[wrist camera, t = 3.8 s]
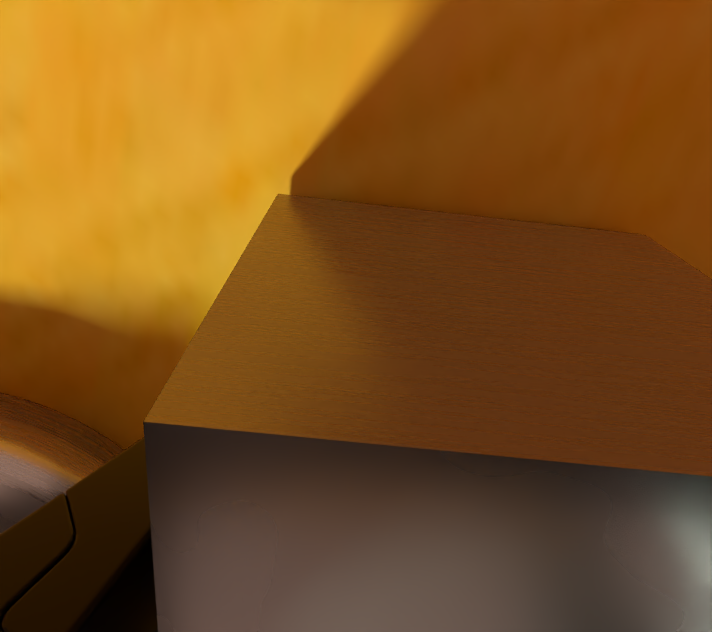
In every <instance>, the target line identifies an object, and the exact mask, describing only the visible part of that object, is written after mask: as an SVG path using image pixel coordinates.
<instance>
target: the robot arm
mask: <svg viewBox="0 0 712 632" xmlns="http://www.w3.org/2000/svg"><path fill="white" fill-rule="evenodd" d="M0 632H158V624H157V610H156V595H155V581H154V567H153V553H152V538H151V524H150V510H149V496H148V481H147V467H146V453H145V439H144V437H143V438H142V439H141V440H139V441H138V442H136V443H135V444H133V445H132V446H130V447H129V448H127V449H126V450H124V451H123V452H121V453H120V454H119V455H117V456H116V457H114V458H113V459H111V460H110V461H108V462H107V463H105V464H104V465H102V466H101V467H99V468H98V469H97V470H95V471H94V472H92V473H91V474H89V475H88V476H86V477H85V478H83V479H82V480H80V481H79V482H77V483H76V484H75V485H73V486H72V487H70V488H69V489H67V490H66V491H65V494H60V495H58V496H57V497H55V498H54V499H52V500H51V501H49V502H48V503H46V504H45V505H43V506H42V507H40V508H39V509H37V510H36V511H34V512H33V513H31V514H30V515H28V516H27V517H25V518H24V519H22V520H21V521H19V522H17V523H16V524H14V525H13V526H11V527H10V528H8V529H7V530H5V531H4V532H2V533H1V534H0Z"/></svg>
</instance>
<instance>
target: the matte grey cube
mask: <svg viewBox="0 0 712 632" xmlns="http://www.w3.org/2000/svg"><path fill="white" fill-rule="evenodd" d="M143 424H144V439H145V453H146V467H147V481H148V496H149V510H150V524H151V538H152V553H153V567H154V581H155V595H156V610H157V624H158V632H712V279H710V278H709V277H707V276H706V275H704V274H703V273H701V272H700V271H698V270H697V269H695V268H694V267H692V266H691V265H689V264H688V263H686V262H685V261H683V260H682V259H680V258H679V257H677V256H676V255H674V254H673V253H671V252H670V251H668V250H667V249H665V248H664V247H662V246H661V245H659V244H658V243H656V242H655V241H653V240H652V239H650V238H649V237H647V236H646V235H642V234H633V233H624V232H615V231H606V230H597V229H588V228H580V227H571V226H562V225H553V224H544V223H535V222H526V221H517V220H508V219H499V218H490V217H481V216H472V215H463V214H454V213H445V212H436V211H427V210H418V209H410V208H401V207H392V206H383V205H374V204H365V203H356V202H347V201H338V200H329V199H320V198H311V197H302V196H293V195H284V194H278V195H277V196H276V198H275V200H274V201H273V203H272V205H271V206H270V208H269V210H268V211H267V213H266V215H265V217H264V218H263V220H262V222H261V223H260V225H259V227H258V228H257V230H256V232H255V233H254V235H253V237H252V239H251V240H250V242H249V244H248V245H247V247H246V249H245V250H244V252H243V254H242V255H241V257H240V259H239V261H238V262H237V264H236V266H235V267H234V269H233V271H232V272H231V274H230V276H229V277H228V279H227V281H226V283H225V284H224V286H223V288H222V289H221V291H220V293H219V294H218V296H217V298H216V299H215V301H214V303H213V305H212V306H211V308H210V310H209V311H208V313H207V315H206V316H205V318H204V320H203V321H202V323H201V325H200V327H199V328H198V330H197V332H196V333H195V335H194V337H193V338H192V340H191V342H190V343H189V345H188V347H187V349H186V350H185V352H184V354H183V355H182V357H181V359H180V360H179V362H178V364H177V365H176V367H175V369H174V371H173V372H172V374H171V376H170V377H169V379H168V381H167V382H166V384H165V386H164V387H163V389H162V391H161V393H160V394H159V396H158V398H157V399H156V401H155V403H154V404H153V406H152V408H151V409H150V411H149V413H148V415H147V416H146V418H145V420H144V421H143Z"/></svg>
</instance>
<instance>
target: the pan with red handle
mask: <svg viewBox="0 0 712 632" xmlns="http://www.w3.org/2000/svg"><path fill="white" fill-rule="evenodd" d="M123 451H124V450H122V449H121V448H120V447H118V446H117V445H116V444H114V443H113V442H112V441H110V440H109V439H107V438H106V437H104V436H103V435H101V434H99V433H97V432H96V431H94V430H92V429H91V428H89V427H87V426H86V425H84V424H82V423H80V422H78V421H76V420H74V419H72V418H70V417H68V416H66V415H63V414H61V413H59V412H57V411H55V410H53V409H50V408H47V407H44V406H42V405H39V404H36V403H33V402H30V401H28V400H25V399H22V398H18V397H14V396H10V395H6V394H2V393H0V534H1V533H2V532H4V531H5V530H7V529H8V528H10V527H11V526H13V525H14V524H16V523H17V522H19V521H21V520H22V519H24V518H25V517H27V516H28V515H30V514H31V513H33V512H34V511H36V510H37V509H39V508H40V507H42V506H43V505H45V504H46V503H48V502H49V501H51V500H52V499H54V498H55V497H57V496H58V495H60V494H65V491H66V490H67V489H69V488H70V487H72V486H73V485H75V484H76V483H77V482H79V481H80V480H82V479H83V478H85V477H86V476H88V475H89V474H91V473H92V472H94V471H95V470H97V469H98V468H99V467H101V466H102V465H104V464H105V463H107V462H108V461H110V460H111V459H113V458H114V457H116V456H117V455H119V454H120V453H121V452H123Z"/></svg>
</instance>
